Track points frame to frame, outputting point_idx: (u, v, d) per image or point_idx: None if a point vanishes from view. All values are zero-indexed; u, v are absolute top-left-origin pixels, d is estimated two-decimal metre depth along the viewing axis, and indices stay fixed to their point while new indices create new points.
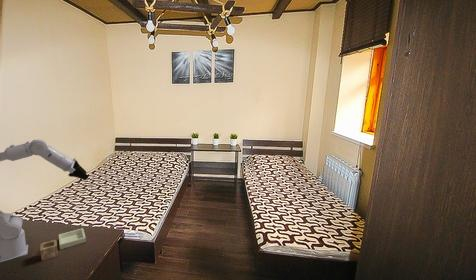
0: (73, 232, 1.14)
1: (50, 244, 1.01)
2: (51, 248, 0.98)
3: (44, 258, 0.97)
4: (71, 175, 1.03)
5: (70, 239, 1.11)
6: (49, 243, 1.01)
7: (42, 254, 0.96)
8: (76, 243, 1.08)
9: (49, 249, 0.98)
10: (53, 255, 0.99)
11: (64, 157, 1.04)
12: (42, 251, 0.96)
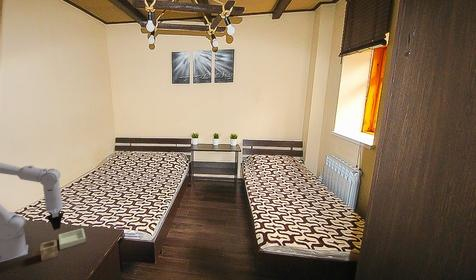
0: (73, 232, 1.14)
1: (50, 244, 1.01)
2: (51, 248, 0.98)
3: (44, 258, 0.97)
4: (49, 219, 0.98)
5: (70, 239, 1.11)
6: (49, 243, 1.01)
7: (42, 254, 0.96)
8: (76, 243, 1.08)
9: (49, 249, 0.98)
10: (53, 255, 0.99)
11: (59, 198, 1.02)
12: (42, 251, 0.96)
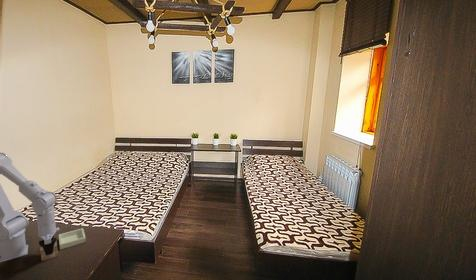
0: (73, 232, 1.14)
1: None
2: None
3: (44, 258, 0.97)
4: (41, 244, 0.94)
5: (70, 239, 1.11)
6: None
7: (42, 254, 0.96)
8: (76, 243, 1.08)
9: None
10: (53, 255, 0.99)
11: (53, 223, 0.98)
12: (42, 251, 0.96)
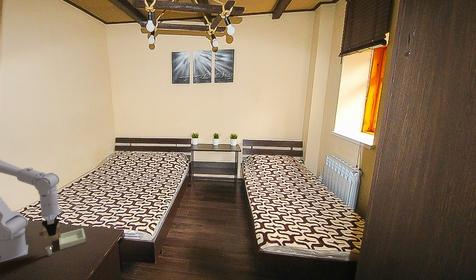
0: (73, 232, 1.14)
1: None
2: None
3: (47, 239, 0.97)
4: (44, 225, 0.94)
5: (70, 239, 1.11)
6: None
7: (45, 235, 0.97)
8: (76, 243, 1.08)
9: None
10: (56, 236, 0.99)
11: (56, 204, 0.98)
12: (45, 232, 0.97)
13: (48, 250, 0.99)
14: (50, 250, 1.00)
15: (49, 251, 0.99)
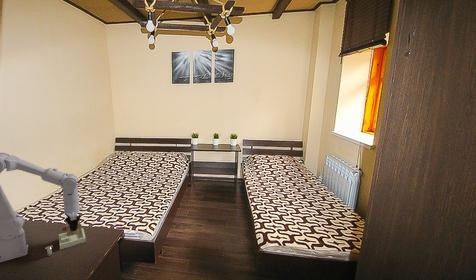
0: None
1: None
2: None
3: (69, 234, 1.07)
4: (67, 221, 1.04)
5: (70, 239, 1.11)
6: None
7: (68, 230, 1.06)
8: (76, 243, 1.08)
9: None
10: (77, 231, 1.09)
11: (77, 202, 1.08)
12: (68, 227, 1.06)
13: (48, 250, 0.99)
14: (50, 250, 1.00)
15: (49, 251, 0.99)
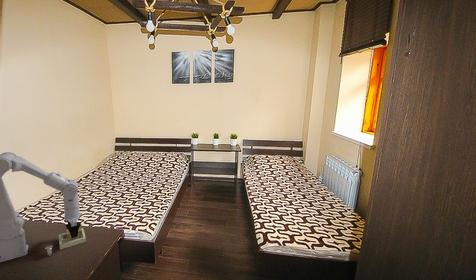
0: None
1: None
2: None
3: None
4: (68, 227, 1.04)
5: None
6: None
7: (68, 238, 1.07)
8: (76, 243, 1.08)
9: None
10: None
11: (77, 208, 1.08)
12: (68, 235, 1.07)
13: (48, 250, 0.99)
14: (50, 250, 1.00)
15: (49, 251, 0.99)
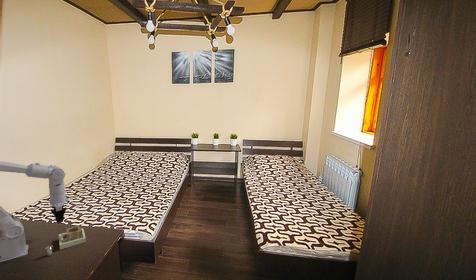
0: None
1: (74, 229, 1.12)
2: (76, 233, 1.09)
3: None
4: (53, 212, 1.04)
5: None
6: (73, 228, 1.12)
7: (68, 238, 1.07)
8: (76, 243, 1.08)
9: (74, 233, 1.08)
10: None
11: (63, 193, 1.09)
12: (68, 235, 1.07)
13: (48, 250, 0.99)
14: (50, 250, 1.00)
15: (49, 251, 0.99)
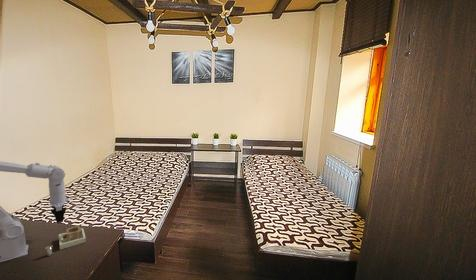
0: None
1: (74, 229, 1.12)
2: (76, 233, 1.09)
3: None
4: (53, 212, 1.04)
5: None
6: (73, 228, 1.12)
7: (68, 238, 1.07)
8: (76, 243, 1.08)
9: (74, 233, 1.08)
10: None
11: (63, 193, 1.09)
12: (68, 235, 1.07)
13: (48, 250, 0.99)
14: (50, 250, 1.00)
15: (49, 251, 0.99)
